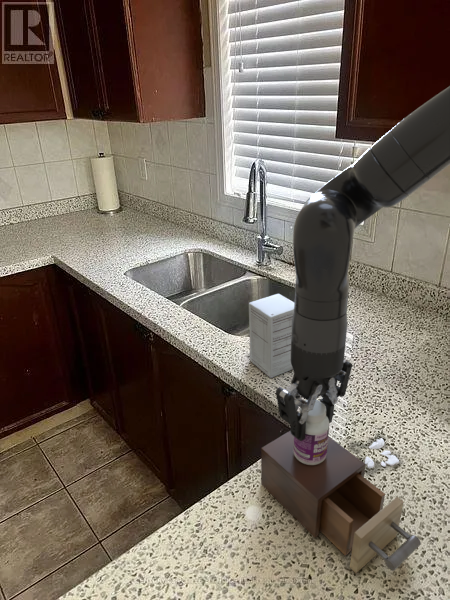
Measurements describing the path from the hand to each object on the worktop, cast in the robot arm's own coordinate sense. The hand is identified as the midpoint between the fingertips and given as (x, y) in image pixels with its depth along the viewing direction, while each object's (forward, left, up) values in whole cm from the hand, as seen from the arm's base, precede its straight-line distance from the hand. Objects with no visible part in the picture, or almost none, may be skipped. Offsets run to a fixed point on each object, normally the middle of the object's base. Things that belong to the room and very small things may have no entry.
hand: (312, 428), depth 70 cm
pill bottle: (0, 0, -6) cm, 6 cm away
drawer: (-11, 0, -14) cm, 18 cm away
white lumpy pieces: (-2, -16, -15) cm, 22 cm away
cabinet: (0, 0, -15) cm, 15 cm away
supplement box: (+33, -22, -15) cm, 43 cm away
